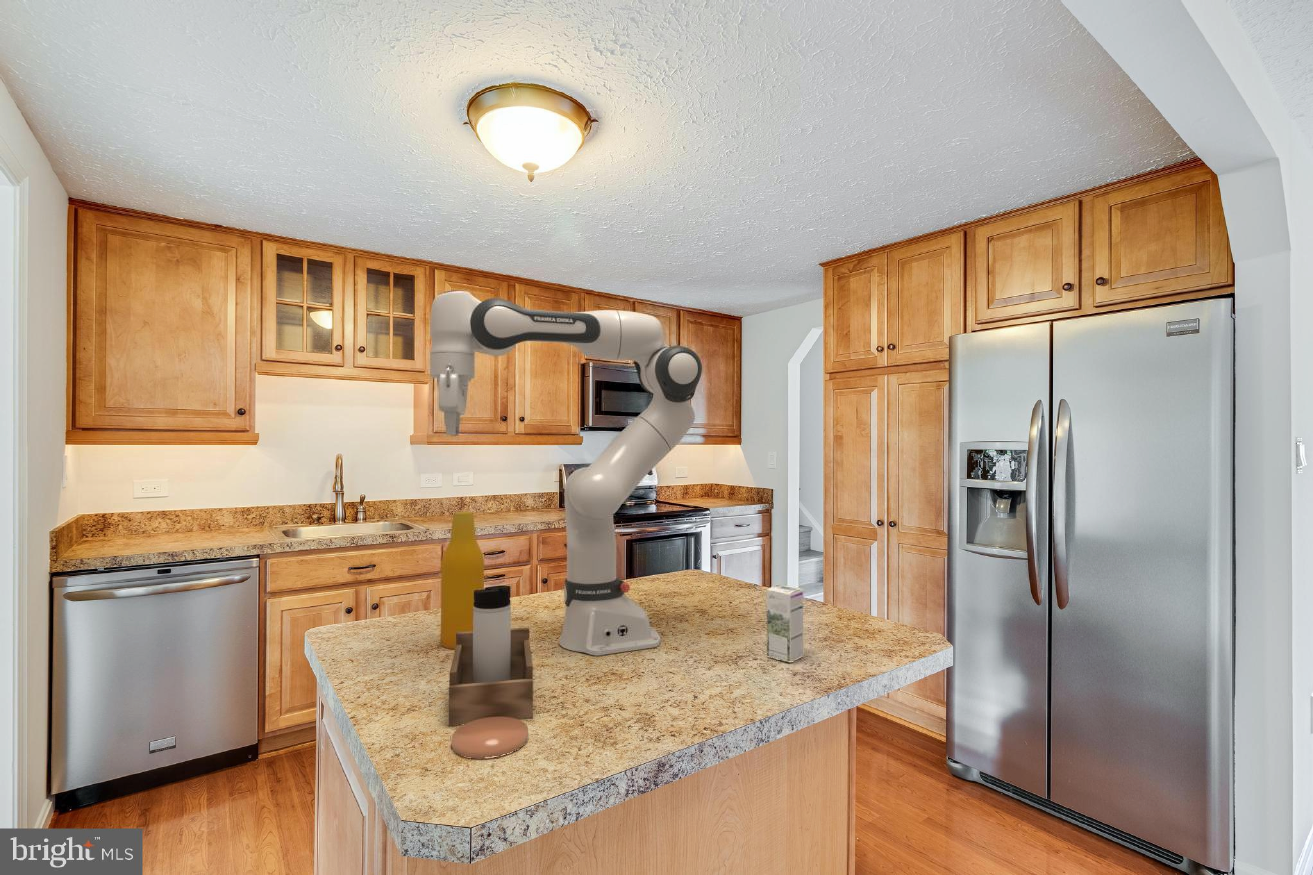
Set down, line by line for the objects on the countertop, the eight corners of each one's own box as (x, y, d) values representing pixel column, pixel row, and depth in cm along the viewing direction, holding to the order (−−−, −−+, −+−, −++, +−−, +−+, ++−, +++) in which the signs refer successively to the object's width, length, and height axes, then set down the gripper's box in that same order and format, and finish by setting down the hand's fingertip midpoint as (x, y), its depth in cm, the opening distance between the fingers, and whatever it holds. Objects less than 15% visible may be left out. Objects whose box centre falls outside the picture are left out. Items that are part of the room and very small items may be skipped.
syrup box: (804, 657, 130) (804, 587, 131) (789, 664, 126) (789, 592, 126) (780, 651, 134) (780, 583, 134) (765, 657, 130) (765, 588, 130)
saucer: (526, 720, 100) (526, 713, 100) (529, 754, 89) (529, 745, 89) (454, 728, 97) (454, 720, 97) (448, 763, 87) (448, 754, 87)
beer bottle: (450, 652, 132) (451, 515, 132) (433, 642, 139) (434, 512, 139) (491, 643, 138) (492, 512, 139) (472, 634, 145) (473, 509, 146)
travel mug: (492, 712, 103) (492, 591, 103) (464, 703, 106) (465, 586, 107) (519, 699, 108) (519, 584, 108) (492, 691, 112) (493, 579, 112)
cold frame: (528, 681, 117) (529, 627, 117) (532, 717, 101) (533, 655, 101) (456, 687, 114) (456, 632, 114) (448, 726, 98) (449, 662, 98)
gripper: (465, 363, 121) (465, 434, 121) (471, 374, 141) (471, 436, 141) (430, 362, 119) (430, 434, 119) (441, 374, 139) (441, 436, 139)
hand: (452, 435), depth 130 cm, fingers open, 8 cm apart
